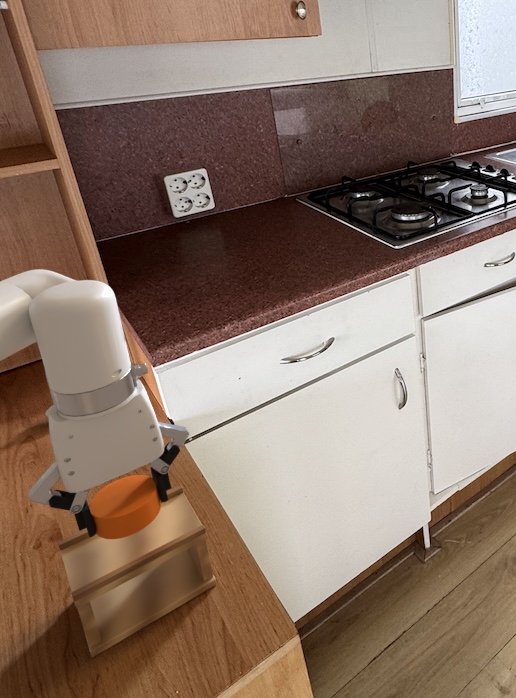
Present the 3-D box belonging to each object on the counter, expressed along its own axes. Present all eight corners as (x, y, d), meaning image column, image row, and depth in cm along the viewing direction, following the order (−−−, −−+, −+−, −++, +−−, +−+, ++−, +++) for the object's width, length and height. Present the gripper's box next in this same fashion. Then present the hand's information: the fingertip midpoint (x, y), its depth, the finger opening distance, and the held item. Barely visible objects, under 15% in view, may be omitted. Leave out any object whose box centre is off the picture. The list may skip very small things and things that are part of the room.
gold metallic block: (91, 658, 67) (72, 597, 64) (75, 599, 74) (57, 541, 71) (216, 584, 77) (205, 527, 73) (192, 538, 83) (180, 484, 80)
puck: (87, 546, 67) (81, 525, 66) (102, 502, 73) (97, 482, 72) (156, 530, 69) (150, 509, 68) (165, 488, 75) (160, 469, 74)
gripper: (170, 348, 73) (193, 462, 79) (-8, 405, 62) (34, 533, 68) (189, 373, 68) (212, 492, 74) (-1, 440, 57) (44, 575, 63)
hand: (127, 511), depth 71 cm, fingers closed on puck, 7 cm apart
